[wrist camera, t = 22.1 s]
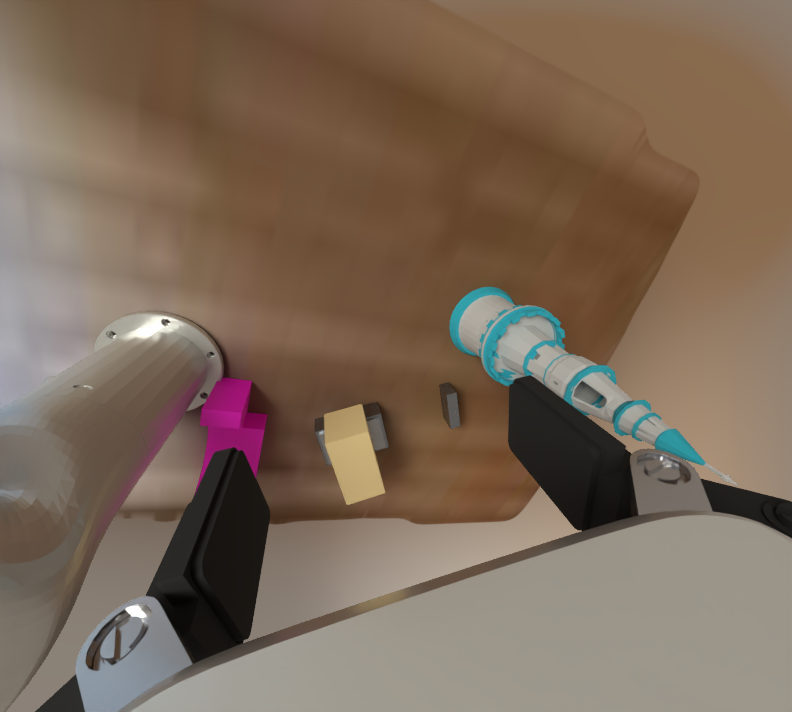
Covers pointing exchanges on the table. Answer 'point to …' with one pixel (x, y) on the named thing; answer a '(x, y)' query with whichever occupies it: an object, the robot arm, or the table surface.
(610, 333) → the table surface
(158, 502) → the table surface
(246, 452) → the toy block
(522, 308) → the model tower
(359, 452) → the yellow rectangular block
